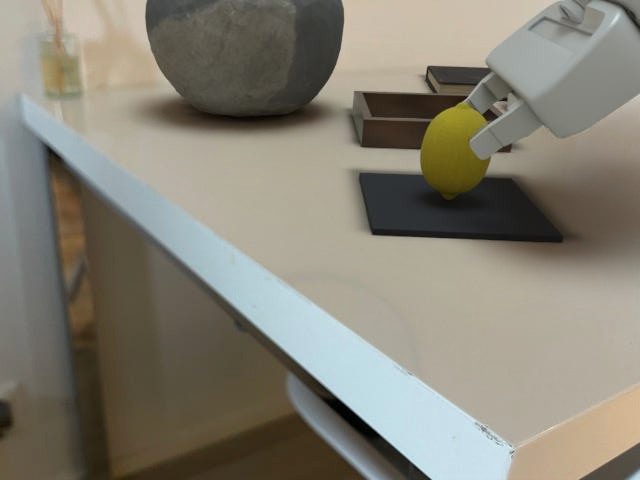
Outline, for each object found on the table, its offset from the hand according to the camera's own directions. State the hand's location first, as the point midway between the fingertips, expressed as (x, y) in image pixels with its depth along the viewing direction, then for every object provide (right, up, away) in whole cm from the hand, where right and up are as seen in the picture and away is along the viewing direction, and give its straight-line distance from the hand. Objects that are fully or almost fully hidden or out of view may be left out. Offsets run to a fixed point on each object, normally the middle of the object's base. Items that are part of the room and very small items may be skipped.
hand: (464, 135), depth 53 cm
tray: (+3, +6, +26) cm, 27 cm away
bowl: (-18, +11, +34) cm, 40 cm away
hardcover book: (+22, +18, +50) cm, 58 cm away
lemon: (0, -5, +3) cm, 6 cm away
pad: (0, -5, +3) cm, 6 cm away
